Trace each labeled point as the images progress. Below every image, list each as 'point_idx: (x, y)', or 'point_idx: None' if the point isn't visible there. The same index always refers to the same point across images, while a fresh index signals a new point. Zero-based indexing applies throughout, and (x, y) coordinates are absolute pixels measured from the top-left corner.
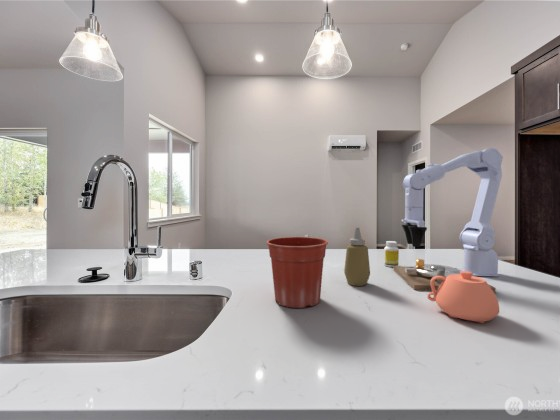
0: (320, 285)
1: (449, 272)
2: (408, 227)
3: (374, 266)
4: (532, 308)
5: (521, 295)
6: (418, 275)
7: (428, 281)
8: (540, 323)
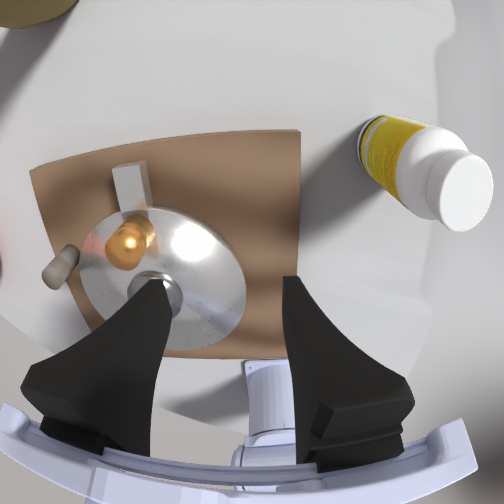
0: None
1: None
2: (57, 384)
3: (366, 57)
4: (55, 342)
5: None
6: None
7: (75, 224)
8: (8, 314)
